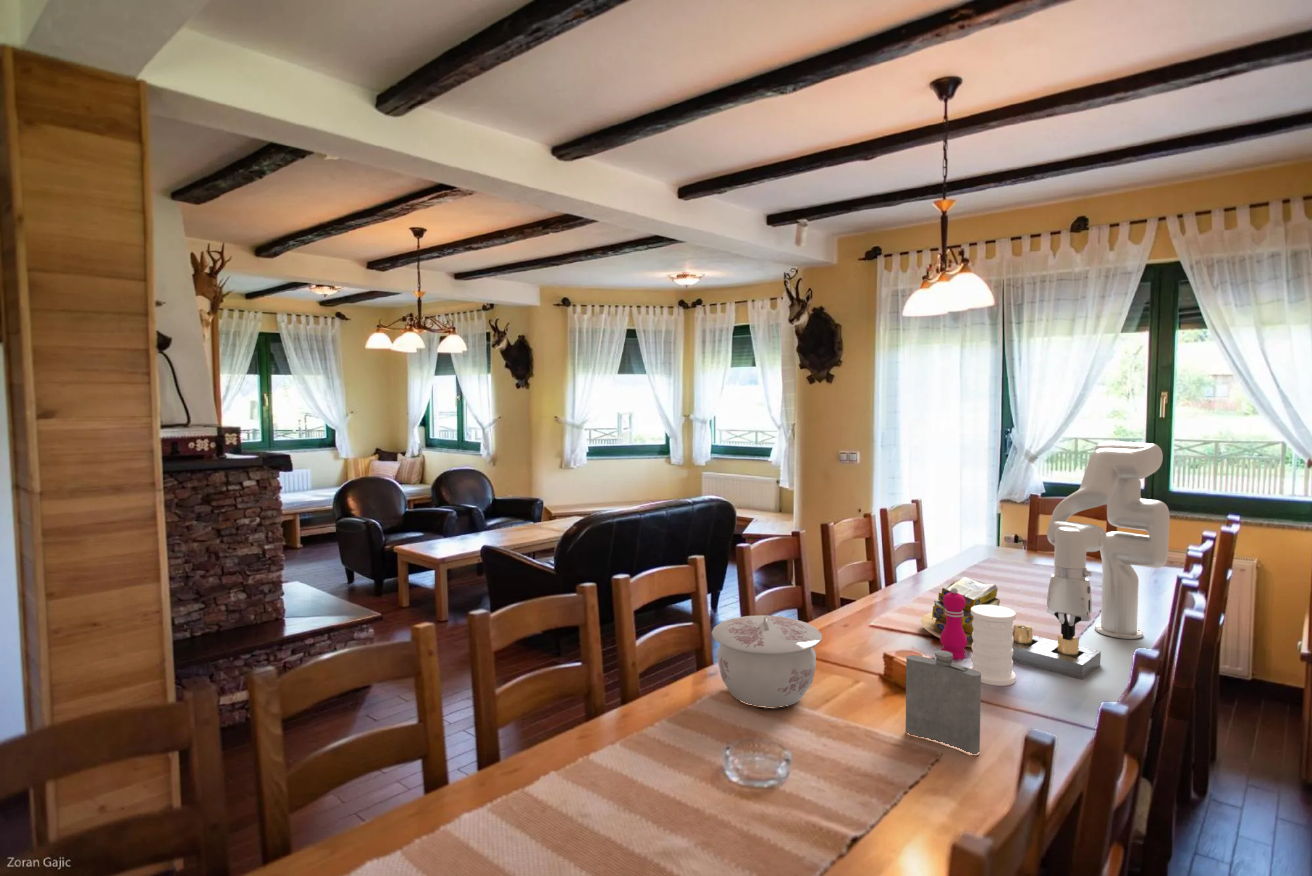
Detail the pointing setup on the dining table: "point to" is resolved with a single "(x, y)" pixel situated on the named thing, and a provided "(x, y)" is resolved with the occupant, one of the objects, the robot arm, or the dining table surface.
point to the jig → (1051, 654)
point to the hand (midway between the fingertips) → (1067, 637)
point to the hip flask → (943, 701)
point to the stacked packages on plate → (973, 596)
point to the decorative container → (993, 644)
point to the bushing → (1068, 646)
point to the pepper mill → (954, 625)
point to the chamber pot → (767, 658)
